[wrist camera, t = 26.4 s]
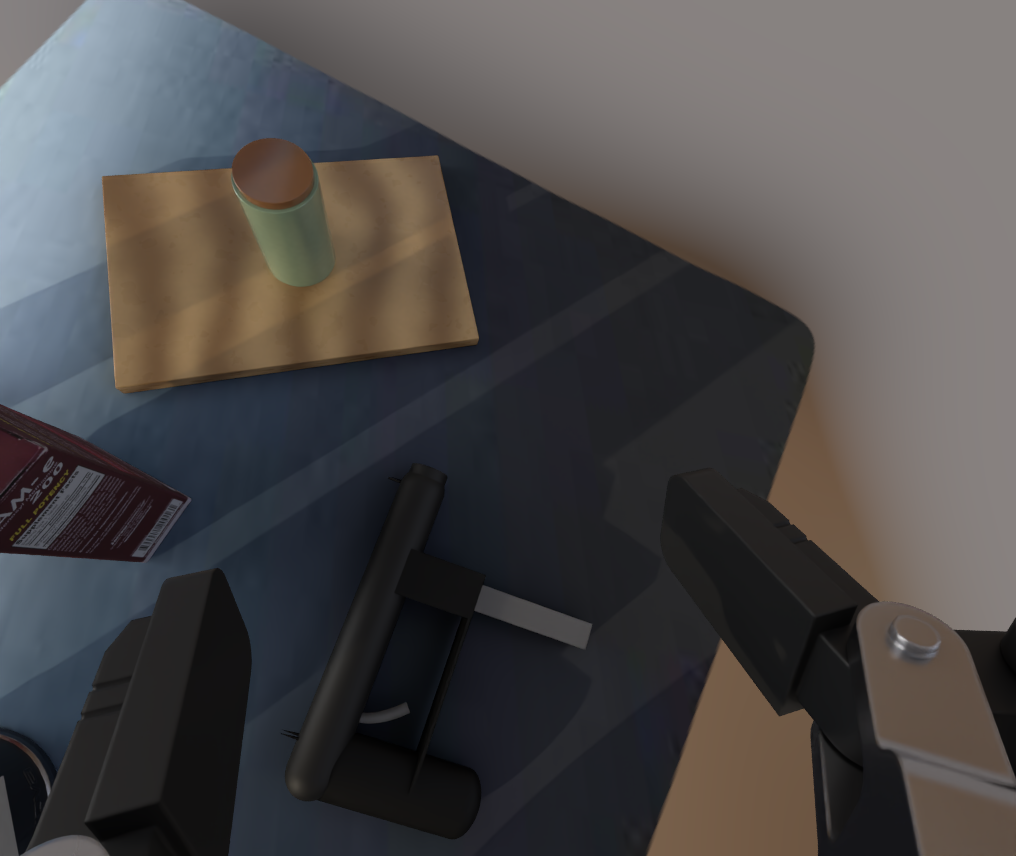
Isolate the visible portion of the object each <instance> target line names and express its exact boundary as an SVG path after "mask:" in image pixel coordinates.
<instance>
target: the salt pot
mask: <svg viewBox="0 0 1016 856" xmlns="http://www.w3.org/2000/svg"><path fill="white" fill-rule="evenodd" d="M231 182H232V186H233V189H234V191H235V194H236V196H237V198H238V200H239V203H240V205H241V207H242V210H243V212H244V214H245V216H246V219H247V221H248V223H249V225H250V228H251V230H252V232H253V235H254V237H255V239H256V241H257V244H258V246H259V248H260V251H261V253H262V255H263V257H264V260H265V262H266V264H267V266H268V269H269V270H270V272H271V273H272V274H273V275H274V276H275V277H276V278H277V279H278V280H280V281H281V282H283V283H285V284H288V285H291V286H296V287H306V286H311V285H315V284H317V283H319V282H321V281H323V280H324V279H325V278H326V277H327V276H328V275H329V274H330V273H331V271H332V270H333V267H334V265H335V259H336V256H335V250H334V245H333V241H332V236H331V231H330V227H329V222H328V218H327V213H326V208H325V204H324V199H323V195H322V190H321V185H320V181H319V176H318V172H317V169H316V167H315V165H314V163H313V162H312V160H311V159H310V158H309V157H308V155H307V154H306V153H305V152H304V151H303V150H302V149H301V148H300V147H298V146H297V145H295V144H293V143H291V142H289V141H286V140H282V139H276V138H266V139H260V140H256V141H253V142H251V143H249V144H247V145H246V146H244V147H243V148H242V149H241V150H240V151H239V152H238V153H237V155H236V156H235V158H234V160H233V164H232V173H231Z"/></svg>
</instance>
